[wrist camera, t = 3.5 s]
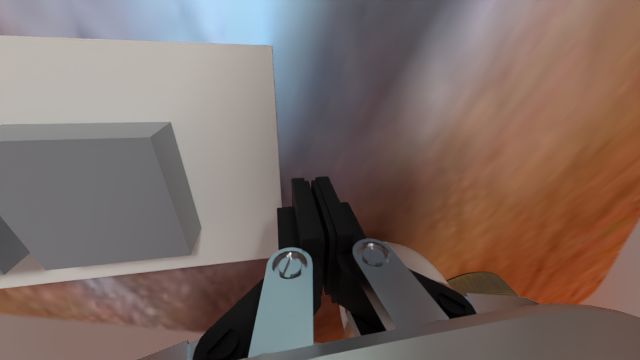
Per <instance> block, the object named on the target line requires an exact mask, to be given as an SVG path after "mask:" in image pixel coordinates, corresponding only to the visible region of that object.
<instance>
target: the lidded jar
mask: <svg viewBox="0 0 640 360" xmlns="http://www.w3.org/2000/svg"><path fill="white" fill-rule="evenodd" d="M382 242H384V243H385V244H387V245H388V246H389V247H390V248H391V249H392V250H393V251H394V252H395V253H396V255H397V256H398V257H399V258H400V259H401V261H402V262H403V263H404V264H405V265H406V267H407V268H409V269H411V270H413V271H415V272H417V273H419V274H421V275H423V276H426V277H428V278H430V279H432V280H434V281H436V282H438V283H440V284H443V285H445V286H447V287H449V288H451V289H453V288H452V287H450V285H449V284H448V282H447V281H446V280H445V279H444V277H443V276H442V275H441V274H440V272H439V271H438V270H437V269H436V268H435V267H434V266H433V265H432V264H431V263H430V262H429V261H428V260H427V259H426V258H425V257H423V256H422V255H421V254H419V253H418V252H416V251H415V250H413V249H411V248H408V247H406V246H403V245H399V244H393V243H390V242H386V241H382ZM453 290H454V289H453ZM339 306H340V305H339ZM340 314H341V319H342V323H343V327H344V331H345V332H344V336H345V339H347V338H352V337H355V334H354V332H353V330H352V328H351V325H350V323H349V321H348V319H347V317H346V313H345V308H344V307H342V306H340Z"/></svg>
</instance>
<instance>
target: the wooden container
mask: <svg viewBox="0 0 640 360" xmlns="http://www.w3.org/2000/svg"><path fill="white" fill-rule="evenodd" d="M447 282H448V284H449V285H450V287H452V288H453V289H454V290H455V291H457V292H458V293H460V294H461V295H463V296H464V295H465V293H475V294H489V295H503V296H518V295H517V294H516V293H515V292H514V291H513V290H512V289H511V288H510V287H509V286H508V285H507V284H506V283H505V282H504V281H503V280H502V279H501V278H500V277H499V276H497V275H495V274H493V273H488V272H476V273H469V274H465V275H462V276H458V277H456V278H453V279H451V280H448V281H447ZM518 297H519V296H518Z"/></svg>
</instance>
